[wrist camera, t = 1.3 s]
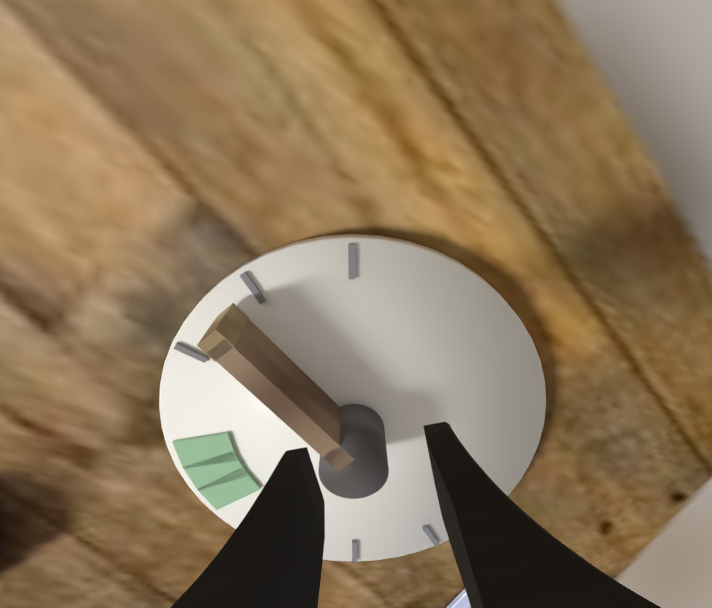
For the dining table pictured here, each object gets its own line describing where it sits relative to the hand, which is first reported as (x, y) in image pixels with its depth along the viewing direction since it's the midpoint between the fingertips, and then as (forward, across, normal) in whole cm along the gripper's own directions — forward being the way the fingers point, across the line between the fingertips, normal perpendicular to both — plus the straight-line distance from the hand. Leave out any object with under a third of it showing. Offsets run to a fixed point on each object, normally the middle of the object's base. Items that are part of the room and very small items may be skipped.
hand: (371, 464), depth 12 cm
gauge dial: (+10, +2, +6) cm, 12 cm away
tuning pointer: (+9, +4, +2) cm, 10 cm away
